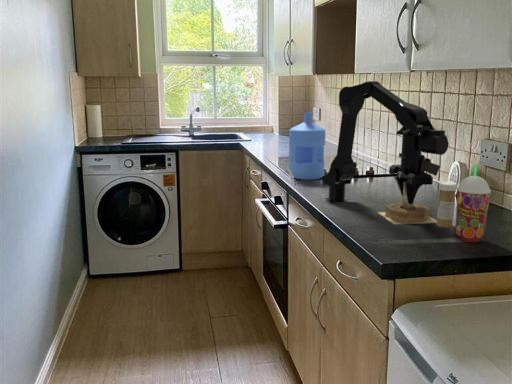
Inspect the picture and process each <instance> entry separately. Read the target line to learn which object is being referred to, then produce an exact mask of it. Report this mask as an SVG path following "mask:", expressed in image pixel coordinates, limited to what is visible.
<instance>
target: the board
mask: <svg viewBox="0 0 512 384" xmlns="http://www.w3.org/2000/svg"><path fill="white" fill-rule="evenodd" d="M385 212H386V211H377V213H378V214H379V215H380V216H382V217H383V218H384V219H386V220H387V221H388V222H389V223H391V224H393V225H413V224H414V225H415V224H437V220H436V219H435V218H433V217H431V216H430V219H428V220H427V221H425V222H415V223H406V222H400V221H395V220H391V219H389V218H388V217H387V216H385Z"/></svg>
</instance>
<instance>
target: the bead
mask: <svg viewBox="0 0 512 384" xmlns="http://www.w3.org/2000/svg"><path fill="white" fill-rule="evenodd" d="M384 212H385V216H387V217H388V218H389V219H391V220H395V221H400V222H406V223H415V222H425V221H427V220H428V219H430V217H431V208H430V207H428V206H426V205H424V204H419V203H414V204H413V209H403V208H402V202H392V203H389V204H388V205H385V211H384Z"/></svg>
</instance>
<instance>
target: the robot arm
mask: <svg viewBox="0 0 512 384" xmlns="http://www.w3.org/2000/svg"><path fill="white" fill-rule="evenodd" d="M369 98H372V99H373V100H375V101H376V102H378V103H379V104H380V105H382V106H383V107H384V108H386V109H388V110H389V111H390V112H391V113H393V115H394V116H395V117H394V118H395V119H396V120H397V122H398V123H399V124H400V125H401V128H400V129H399V130H398V131H396V133H395V134H396V135H398V136H401V137H402V139H401V142H402V143H401V151H400V152H399V153H398V157H399V158H400V164H391V166H389V171H388V174H389V175H393V176H394V177H393V179H394V180H395V183H396V184H397V187H398V189H399V192H400V194H401V196H402V197H401V198H403V184H404V188H405V192H406V196H407V200H408V203H409V204H412V203H413V201H415V198H416V195H417V193H418V191H419V189H420V188H421V187H422V186H423V185H428V186H430V185H433V183H434V177H437V176H438V174H439V171H440V169H441V165H438V164H436V163H433V162H432V161H431V158H428V157H425V155H424V154H433V155H439V156H442V155H444V154H445V153H446V152H447V151H448V149H449V145H450V143H449V139H448V137H447V135H446V133H445V132H446V131H445V130H443V129H439V130H438V129H437V130H436V129H435V128H434V126H433V124H432V123H431V120H430V118H429V116H428V111H427V110H426V109H425V108H423V107H421V106H419V105H417V104H414V103H409V102H407V101H404V100H403V99H402V98H400V97H399V96H398V95H396V94H395V93H394V92H392V91H390V90H389V89H387V87H385V86H383V85H382V84H381V82H379V81H376V80H368V81H365V82H362V83H359V84H357V85H353V86H343V87H342V89H339V94H338V106H339V108H340V110H341V120H340V121H341V122H340V128H339V129H340V130H339V134H338V135H339V136H338V144H337V150H336V155H335V157H334V159H333V160H332V161H331V163H330V167H329V171H328V172H327V173H326V174H325V175H324V177H323V178H322V181H323V185H324V186H328V197H326V198H325V201H327V203H335V204H336V203H349V202H348V200H346V185H350V184H351V183H352V180H353V178H354V177H355V175H356V174H357V169H356V168H357V166H358V163H357V162H356V161H355V162H354V159H353V157H352V156H353V149H354V141H355V135H356V134H355V133H356V126H357V119H358V115H359V113H360V111H361V110H362V109H363V107H364V104H365V101H366V100H367V99H369ZM422 153H423V154H422ZM395 174H396V176H395ZM432 175H433V176H434V177H433V176H432Z"/></svg>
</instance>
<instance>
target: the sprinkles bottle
mask: <svg viewBox="0 0 512 384" xmlns="http://www.w3.org/2000/svg"><path fill="white" fill-rule="evenodd" d="M438 187H439V194H438V195H439V196H438V205H437V218H436V219H437V220H436V221H437V223H436V227H439V228H444V229H449V228H453V224H454V217H455V216H454V215H455V207H456V205H455V204H456V193H457V187H458V184H457V183H456V182H452V181H451V182H450V181H442V182H440V183H439V186H438Z"/></svg>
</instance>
